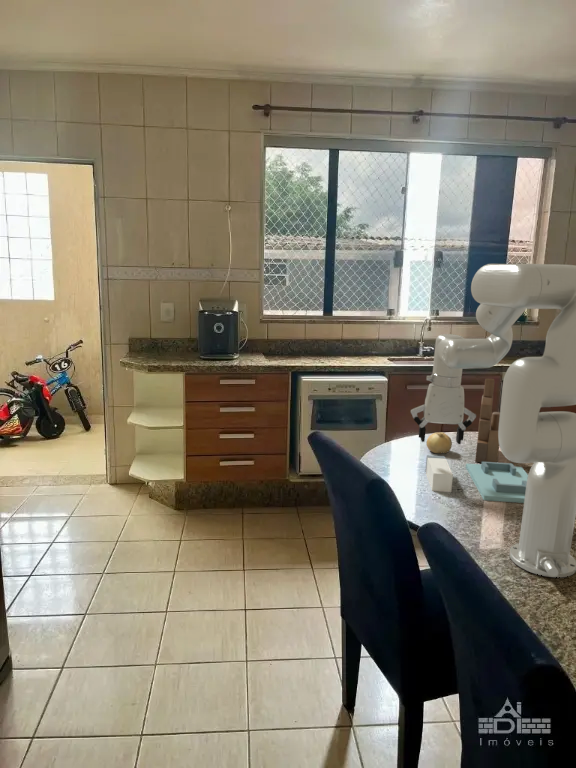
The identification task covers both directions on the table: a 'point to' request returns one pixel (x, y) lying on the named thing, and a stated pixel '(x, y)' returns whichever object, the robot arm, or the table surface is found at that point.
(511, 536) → the table surface
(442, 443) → the onion
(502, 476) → the cradle
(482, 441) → the wooden toy
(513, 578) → the table surface
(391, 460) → the table surface
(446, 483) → the white pillar block
